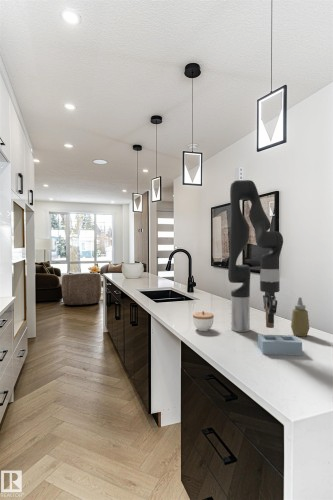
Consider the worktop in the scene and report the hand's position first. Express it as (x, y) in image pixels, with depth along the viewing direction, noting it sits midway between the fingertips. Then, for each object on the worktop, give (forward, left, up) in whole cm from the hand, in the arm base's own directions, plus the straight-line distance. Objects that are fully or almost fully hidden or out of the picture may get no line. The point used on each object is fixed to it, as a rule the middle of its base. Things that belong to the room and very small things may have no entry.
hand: (269, 321), depth 118 cm
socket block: (0, +4, -12) cm, 12 cm away
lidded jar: (-28, -26, -12) cm, 40 cm away
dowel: (0, 0, -2) cm, 2 cm away
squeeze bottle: (-22, +20, -12) cm, 32 cm away
